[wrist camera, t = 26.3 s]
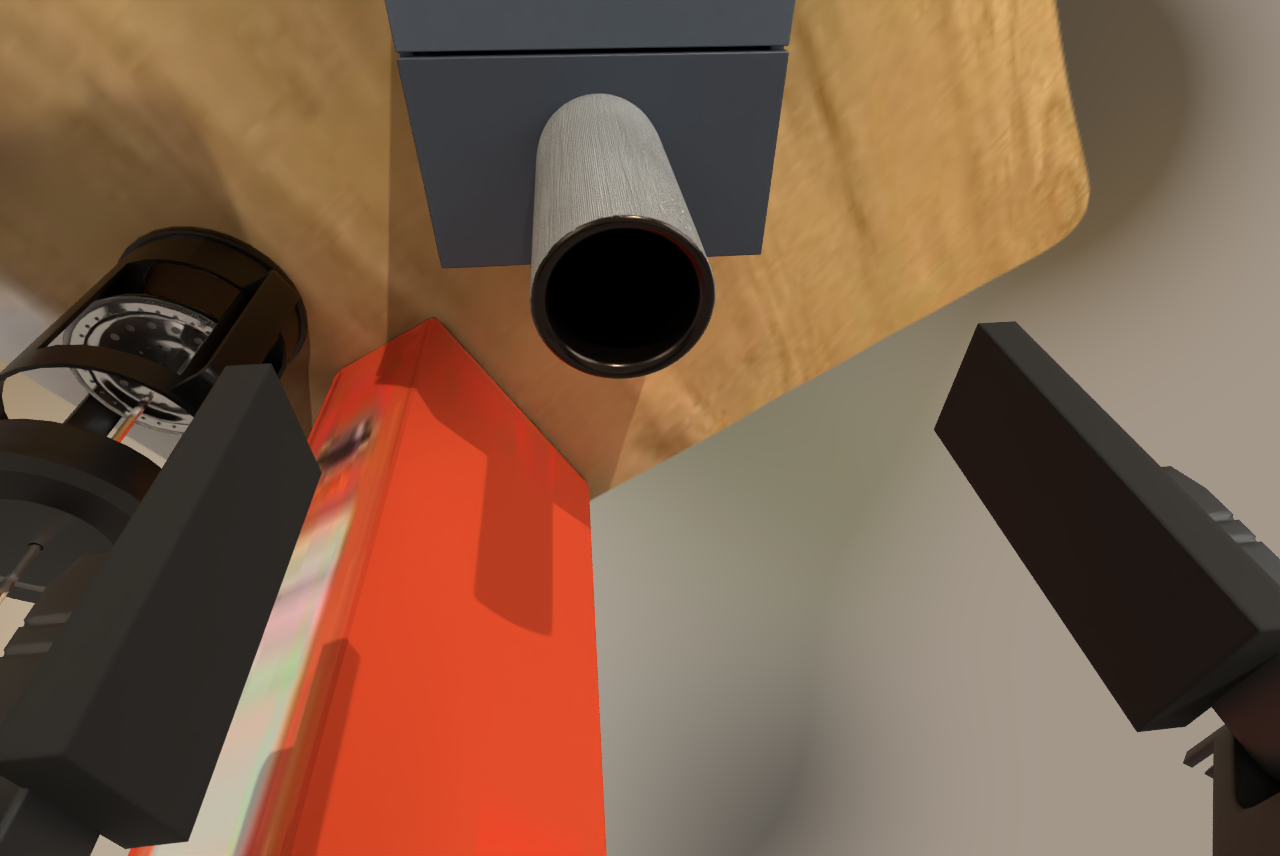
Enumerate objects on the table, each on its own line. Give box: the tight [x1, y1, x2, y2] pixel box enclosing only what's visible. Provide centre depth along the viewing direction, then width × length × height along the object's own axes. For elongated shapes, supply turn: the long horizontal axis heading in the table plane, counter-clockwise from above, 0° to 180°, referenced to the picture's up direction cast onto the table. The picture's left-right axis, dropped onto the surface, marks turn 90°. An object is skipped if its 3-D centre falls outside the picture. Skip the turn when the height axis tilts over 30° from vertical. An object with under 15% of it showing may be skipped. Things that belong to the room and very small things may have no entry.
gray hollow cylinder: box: [530, 94, 715, 379], centre depth 19 cm, size 4×4×10 cm
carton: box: [397, 46, 789, 268], centre depth 25 cm, size 15×13×10 cm
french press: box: [0, 227, 307, 604], centre depth 28 cm, size 12×9×23 cm
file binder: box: [128, 317, 606, 856], centre depth 33 cm, size 8×17×32 cm, turn 29°
